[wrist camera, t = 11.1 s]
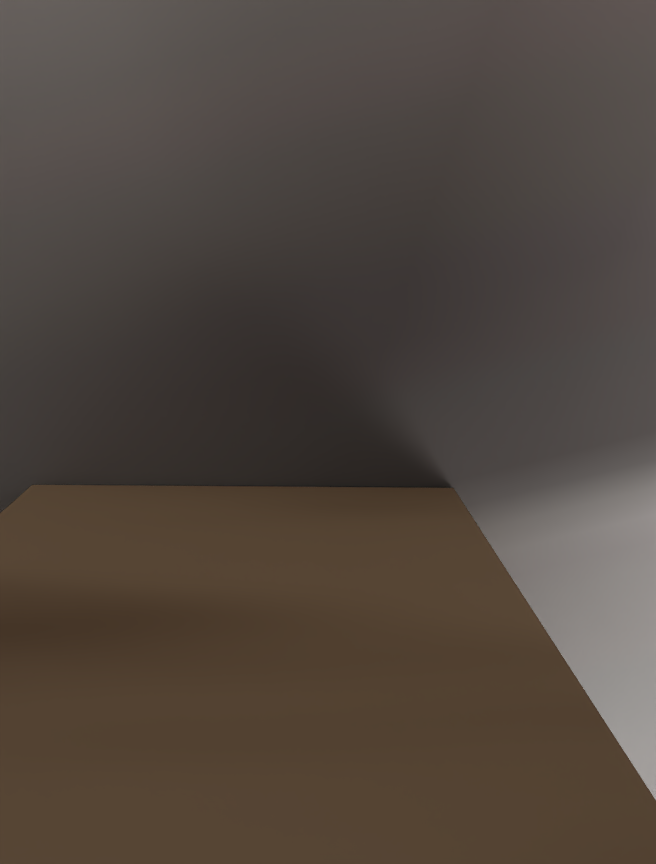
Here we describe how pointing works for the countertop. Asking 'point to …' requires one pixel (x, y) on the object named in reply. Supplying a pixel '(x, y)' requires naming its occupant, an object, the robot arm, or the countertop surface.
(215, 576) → the walnut cube
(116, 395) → the countertop surface
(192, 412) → the countertop surface
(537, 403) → the countertop surface
